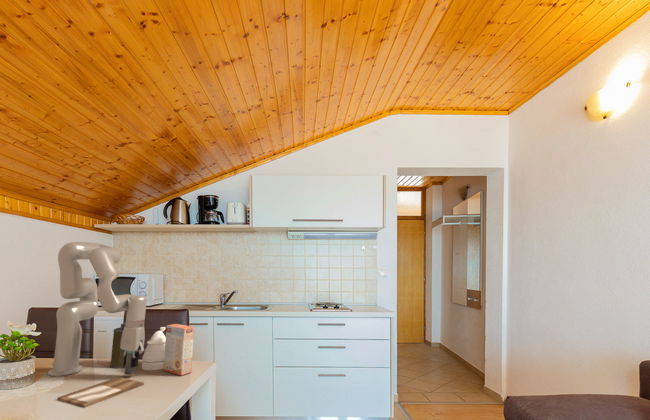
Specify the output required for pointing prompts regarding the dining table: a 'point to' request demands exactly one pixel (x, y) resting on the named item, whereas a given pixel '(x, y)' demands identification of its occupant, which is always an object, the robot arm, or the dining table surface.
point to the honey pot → (154, 351)
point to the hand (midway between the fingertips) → (130, 365)
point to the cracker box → (178, 349)
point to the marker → (129, 364)
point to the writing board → (100, 392)
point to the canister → (117, 348)
